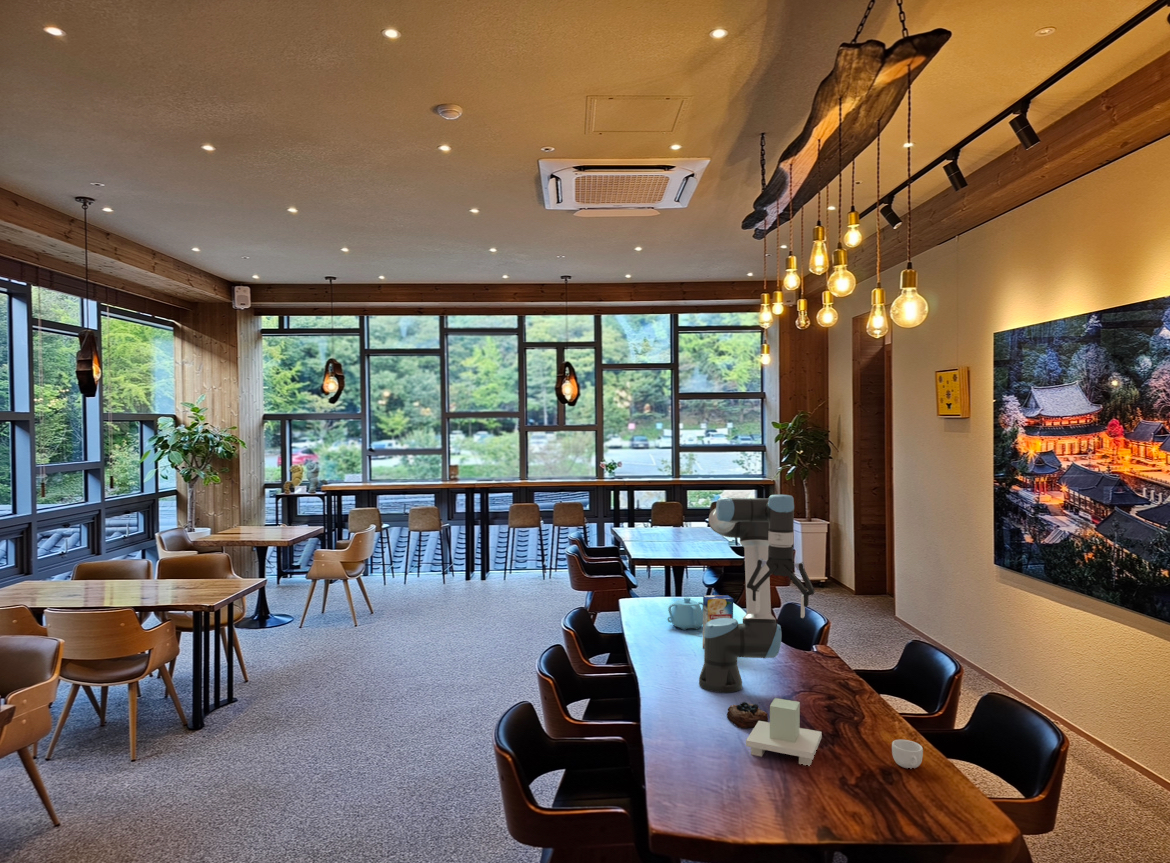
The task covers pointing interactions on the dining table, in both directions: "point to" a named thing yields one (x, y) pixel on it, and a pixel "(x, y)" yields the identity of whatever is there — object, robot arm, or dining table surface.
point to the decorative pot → (686, 614)
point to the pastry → (746, 715)
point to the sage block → (784, 720)
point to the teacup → (907, 753)
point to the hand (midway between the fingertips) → (780, 614)
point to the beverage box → (716, 609)
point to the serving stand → (784, 743)
